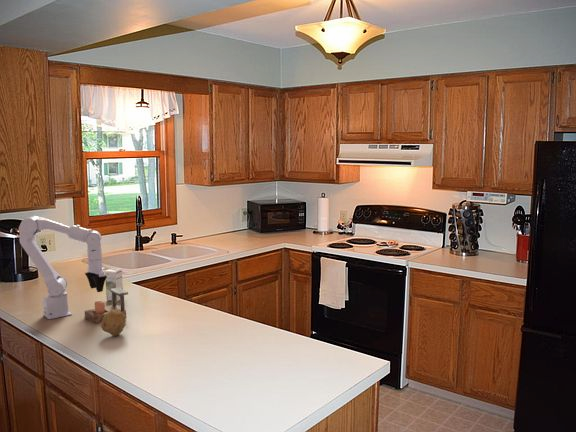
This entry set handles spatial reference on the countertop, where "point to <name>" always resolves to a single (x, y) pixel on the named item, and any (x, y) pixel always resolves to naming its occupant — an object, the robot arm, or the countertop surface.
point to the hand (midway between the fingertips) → (96, 289)
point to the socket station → (108, 307)
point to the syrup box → (113, 282)
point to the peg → (99, 307)
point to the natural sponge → (113, 322)
